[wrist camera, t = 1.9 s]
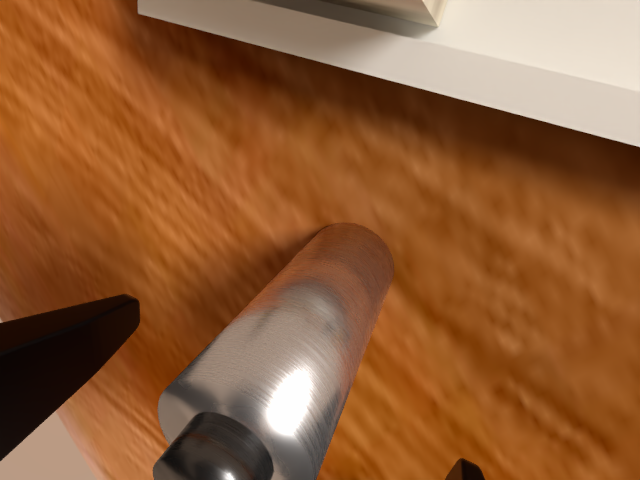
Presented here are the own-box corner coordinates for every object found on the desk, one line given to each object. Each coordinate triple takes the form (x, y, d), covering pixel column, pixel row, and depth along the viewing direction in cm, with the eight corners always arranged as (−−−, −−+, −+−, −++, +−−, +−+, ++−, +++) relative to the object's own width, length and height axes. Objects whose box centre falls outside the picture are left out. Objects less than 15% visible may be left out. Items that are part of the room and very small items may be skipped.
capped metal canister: (378, 315, 15) (270, 595, 7) (301, 282, 16) (123, 499, 8) (407, 242, 13) (308, 499, 5) (318, 209, 14) (113, 388, 6)
